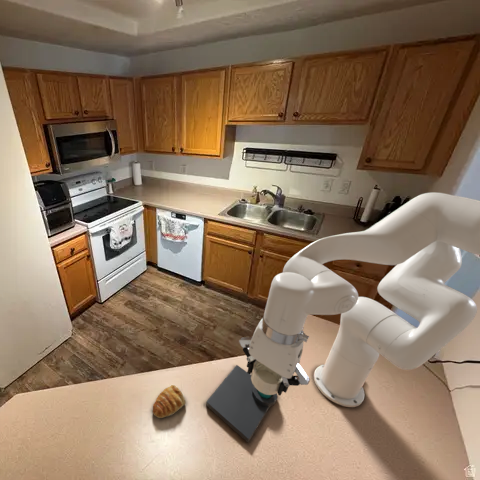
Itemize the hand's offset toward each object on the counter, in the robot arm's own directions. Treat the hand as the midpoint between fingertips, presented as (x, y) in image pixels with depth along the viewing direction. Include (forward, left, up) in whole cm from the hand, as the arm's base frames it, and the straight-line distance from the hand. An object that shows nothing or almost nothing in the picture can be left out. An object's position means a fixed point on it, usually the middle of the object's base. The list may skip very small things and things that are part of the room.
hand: (265, 379), depth 63 cm
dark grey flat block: (-1, -5, -16) cm, 17 cm away
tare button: (-6, -1, -13) cm, 14 cm away
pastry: (+14, -19, -16) cm, 29 cm away
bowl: (0, 0, -1) cm, 1 cm away
